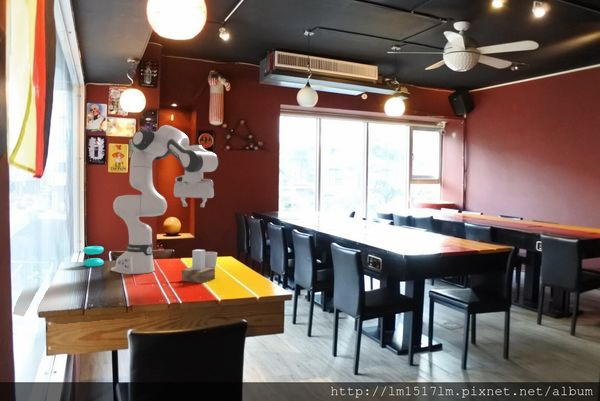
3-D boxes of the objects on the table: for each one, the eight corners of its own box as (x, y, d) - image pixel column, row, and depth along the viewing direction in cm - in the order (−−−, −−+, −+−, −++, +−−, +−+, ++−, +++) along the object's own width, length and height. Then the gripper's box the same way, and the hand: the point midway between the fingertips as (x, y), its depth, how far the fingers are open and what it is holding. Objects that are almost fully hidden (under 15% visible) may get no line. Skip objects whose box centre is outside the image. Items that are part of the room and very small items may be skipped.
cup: (202, 270, 239) (202, 255, 239) (194, 267, 245) (194, 253, 245) (219, 267, 247) (220, 253, 246) (212, 265, 253) (212, 251, 252)
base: (181, 280, 215) (181, 269, 215) (196, 276, 225) (196, 266, 225) (200, 283, 211) (201, 272, 210) (214, 278, 221) (214, 268, 220)
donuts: (87, 249, 239) (80, 246, 246) (87, 268, 239) (80, 265, 246) (106, 247, 246) (99, 245, 253) (106, 265, 246) (99, 263, 253)
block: (192, 269, 216) (192, 250, 216) (196, 267, 220) (196, 249, 220) (200, 270, 215) (200, 251, 215) (205, 268, 219) (205, 249, 219)
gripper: (216, 178, 223) (216, 207, 224) (178, 178, 229) (178, 205, 229) (210, 178, 217) (210, 208, 218) (172, 178, 223) (172, 206, 223)
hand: (193, 206), depth 224 cm, fingers open, 8 cm apart
